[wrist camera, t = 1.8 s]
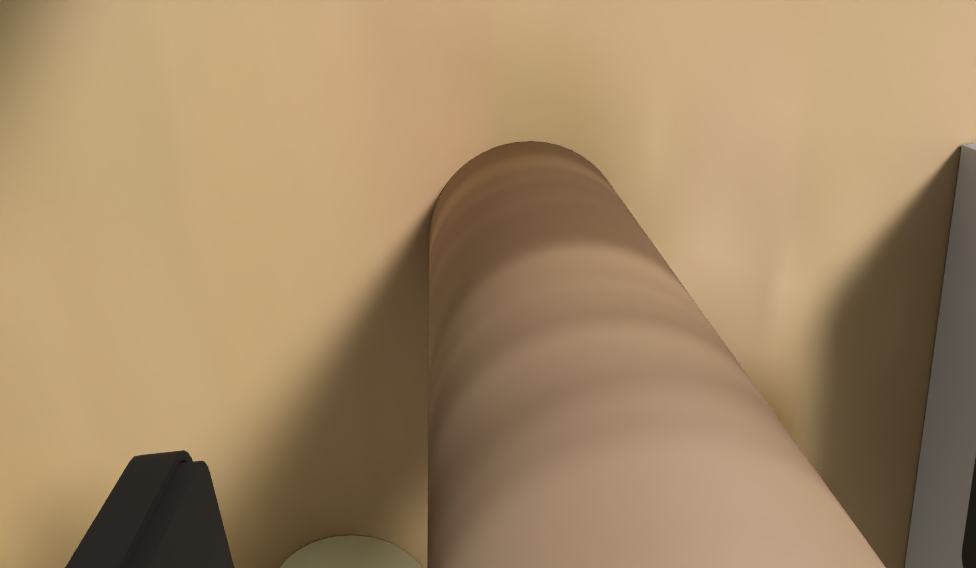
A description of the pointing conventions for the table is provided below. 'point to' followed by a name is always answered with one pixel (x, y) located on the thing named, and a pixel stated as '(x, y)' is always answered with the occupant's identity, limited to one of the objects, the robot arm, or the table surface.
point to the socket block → (950, 396)
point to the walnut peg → (595, 395)
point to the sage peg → (350, 554)
